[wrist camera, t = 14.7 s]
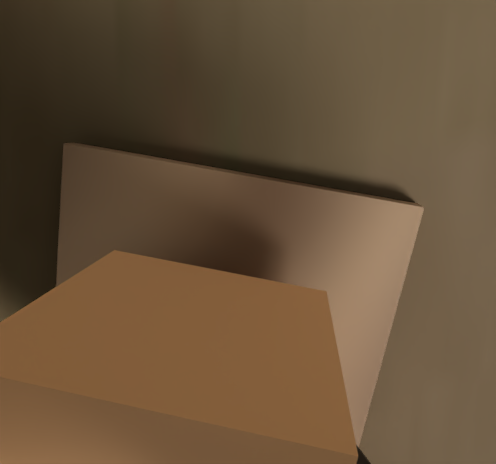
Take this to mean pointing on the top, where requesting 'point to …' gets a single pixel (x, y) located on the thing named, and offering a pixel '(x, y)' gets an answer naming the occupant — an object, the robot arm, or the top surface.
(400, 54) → the top surface
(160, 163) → the coaster
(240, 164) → the top surface
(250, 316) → the block
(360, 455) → the robot arm
